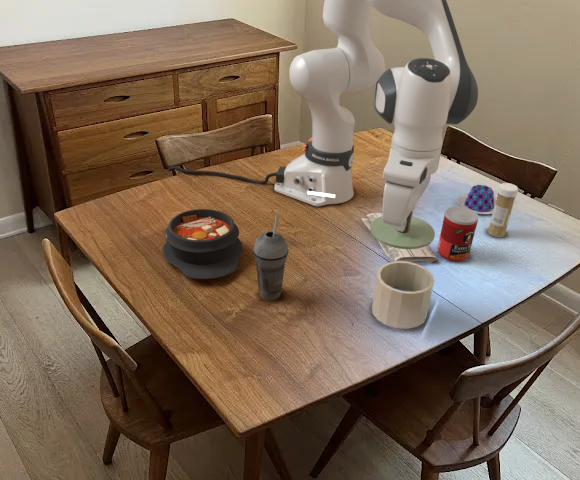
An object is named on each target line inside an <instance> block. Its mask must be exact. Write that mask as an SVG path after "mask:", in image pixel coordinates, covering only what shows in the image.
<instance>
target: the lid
mask: <svg viewBox="0 0 580 480" xmlns="http://www.w3.org/2000/svg"><path fill="white" fill-rule="evenodd" d="M411 218H412V219H411ZM369 232H370V234H371V236H372V237H373V238H374V239H375V240H376V241H377V242H378V241H379V242H381V243H383V244H385V245H387V246H390V247H394V248H399V249H418V248H422V247H425V246H429V245H430V244H432V243H433V241H434V240H435V236H436V232H435V229H434V228H433V226H432V225H431V224H430V223H429V222H427V221H426V220H424V219H422V218H419V217H416V216H413V215H412V211H411V213H410V214H409V216H408V217H407V225H406V228H405V230H404V231H403V232H401V231H398V230H396V229H395V226H393V225H390V224H386V223H384V222H383V218H382V216H381V217H378V218H377V219H375V220H374V221H373V222H372V224H371V227H370V230H369ZM379 242H378V243H379Z"/></svg>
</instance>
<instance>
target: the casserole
mask: <svg viewBox="0 0 580 480" xmlns="http://www.w3.org/2000/svg"><path fill="white" fill-rule="evenodd" d="M239 236H240V228H239V226H238V225H237V224H236V223H235V221H234V219H233V217H231V216H230V215H229V214H227V213H225V212H223V211H220V210H216V209H212V208H211V209H209V208H198V209H197V208H196V209H190V210H185V211H183V212H181V213H178V214H176V215H175V216H173V217H172V218H171V219H170V221H169V222H168V225H167V227H166V229H165V230H164V239H165V241H166V242H165V243H164V244H163V246H162V255H163V258H164V259H165V260H166V261H167V262H168V263H170V264H171V265H173V266H175V267H176V268H177V269H178V270H179V271H180V272H181V273H182V274H183V275H184V276H185V277H188V278H191V279H197V280H209V279H216V278H221V277H225V276H227V275H230V274H233V273H234V272H235V271H236V270H237V269H238V267H239V260H240V258H241V256H242V254H243V252H244V246H243V242H242V240H241V239H240V238H239Z"/></svg>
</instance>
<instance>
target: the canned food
mask: <svg viewBox="0 0 580 480" xmlns="http://www.w3.org/2000/svg"><path fill="white" fill-rule="evenodd" d="M478 221H479V215H478V213H476V212H475V211H473V210H471V209H469V208H466V207H462V206H460V205H453V206H449V207H448V208H446V209H445V212H444V215H443V220H442V225H441V230H440V233H439V234H440V235H439V240H438V244H437V253H438V255H439V256H440V257H442V258H443V259H445V260H447V261H449V262H454V263H455V262H464V261H466V260H467V259H468V258H469V255H470V253H471V249H472V245H473V242H474V237H475V233H476V229H477V226H478Z"/></svg>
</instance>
